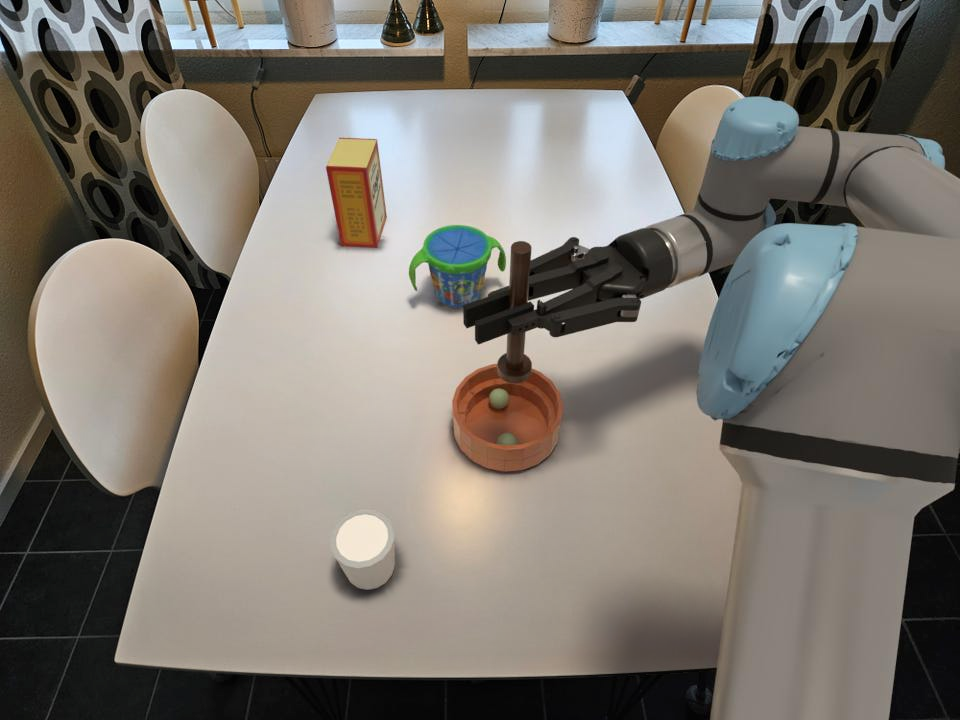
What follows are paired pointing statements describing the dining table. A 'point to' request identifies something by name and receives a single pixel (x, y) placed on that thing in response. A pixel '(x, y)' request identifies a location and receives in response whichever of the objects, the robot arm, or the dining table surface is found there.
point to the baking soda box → (357, 191)
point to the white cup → (364, 548)
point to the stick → (513, 362)
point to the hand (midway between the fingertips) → (471, 324)
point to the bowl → (506, 419)
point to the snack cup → (457, 262)
